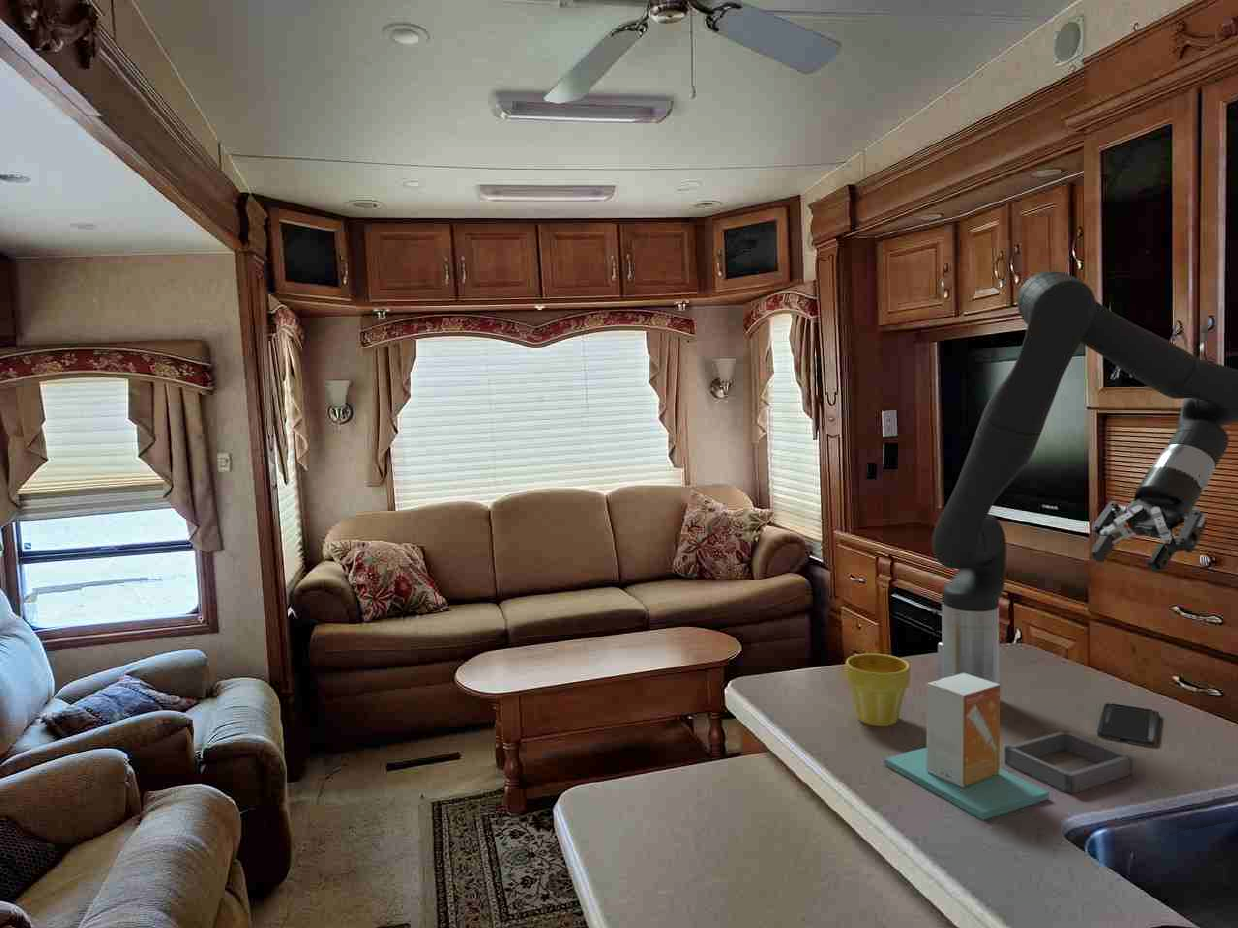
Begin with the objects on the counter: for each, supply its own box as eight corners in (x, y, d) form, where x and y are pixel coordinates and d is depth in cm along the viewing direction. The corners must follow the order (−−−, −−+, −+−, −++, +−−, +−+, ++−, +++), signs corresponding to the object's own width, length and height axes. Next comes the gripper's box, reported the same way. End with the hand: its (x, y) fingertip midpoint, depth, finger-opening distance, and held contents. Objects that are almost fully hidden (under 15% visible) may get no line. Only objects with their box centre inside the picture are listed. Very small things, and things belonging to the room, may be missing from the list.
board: (884, 764, 121) (884, 758, 121) (945, 748, 126) (945, 742, 126) (982, 820, 105) (982, 812, 105) (1048, 799, 109) (1048, 791, 109)
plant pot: (916, 731, 132) (916, 672, 132) (850, 730, 134) (850, 672, 133) (902, 708, 143) (902, 653, 142) (841, 706, 144) (841, 652, 143)
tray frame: (1004, 763, 120) (1004, 746, 120) (1064, 746, 125) (1064, 730, 125) (1070, 793, 111) (1070, 775, 110) (1131, 774, 116) (1132, 757, 115)
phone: (1159, 710, 136) (1155, 742, 124) (1159, 717, 136) (1155, 749, 124) (1104, 701, 141) (1095, 731, 128) (1104, 708, 141) (1095, 738, 128)
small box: (963, 789, 111) (963, 695, 110) (925, 771, 116) (924, 682, 115) (1001, 774, 115) (1001, 683, 114) (962, 757, 120) (962, 671, 119)
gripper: (1118, 462, 129) (1067, 540, 126) (1214, 467, 116) (1160, 555, 113) (1140, 492, 132) (1090, 571, 128) (1236, 501, 119) (1184, 588, 115)
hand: (1123, 563), depth 120 cm, fingers open, 8 cm apart
